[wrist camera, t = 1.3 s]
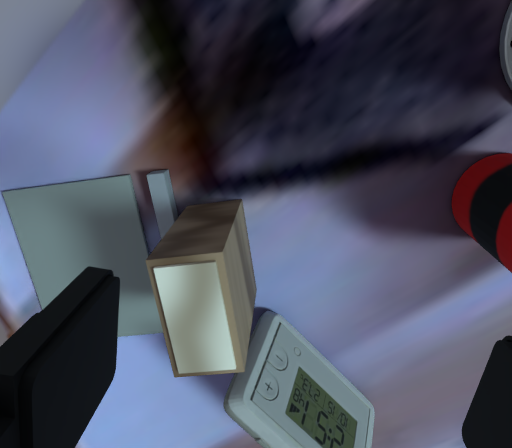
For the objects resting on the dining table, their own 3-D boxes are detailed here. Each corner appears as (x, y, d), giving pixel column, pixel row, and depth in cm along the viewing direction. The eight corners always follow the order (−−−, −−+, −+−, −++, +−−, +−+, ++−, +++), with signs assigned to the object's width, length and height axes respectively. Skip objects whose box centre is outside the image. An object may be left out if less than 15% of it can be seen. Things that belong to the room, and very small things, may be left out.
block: (241, 199, 38) (221, 253, 26) (256, 289, 41) (244, 374, 29) (187, 205, 38) (144, 262, 27) (205, 294, 41) (173, 380, 30)
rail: (168, 169, 37) (163, 172, 36) (201, 327, 42) (198, 335, 41) (151, 171, 38) (146, 175, 36) (187, 328, 43) (183, 337, 41)
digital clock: (378, 410, 44) (405, 508, 34) (302, 441, 46) (307, 542, 36) (300, 288, 40) (304, 359, 30) (220, 329, 43) (200, 407, 32)
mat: (130, 174, 38) (128, 175, 37) (167, 330, 43) (166, 332, 42) (4, 190, 39) (2, 192, 39) (55, 340, 44) (53, 342, 44)
